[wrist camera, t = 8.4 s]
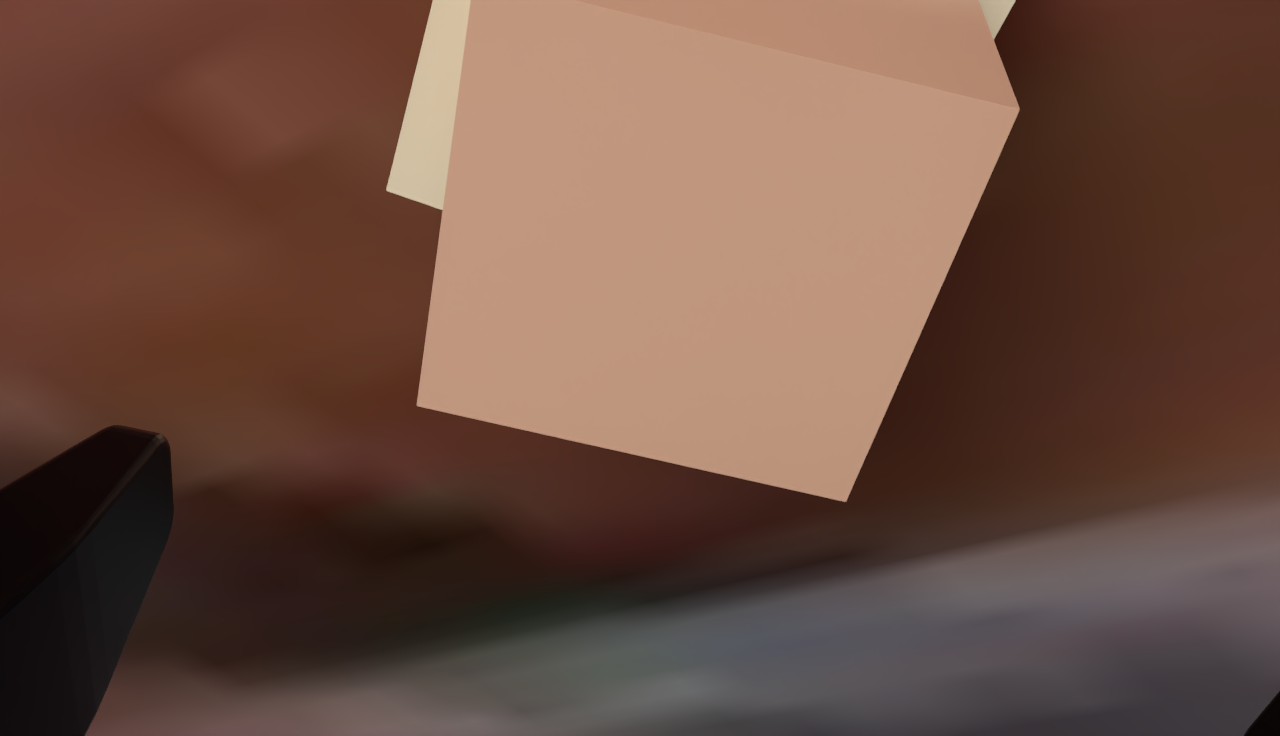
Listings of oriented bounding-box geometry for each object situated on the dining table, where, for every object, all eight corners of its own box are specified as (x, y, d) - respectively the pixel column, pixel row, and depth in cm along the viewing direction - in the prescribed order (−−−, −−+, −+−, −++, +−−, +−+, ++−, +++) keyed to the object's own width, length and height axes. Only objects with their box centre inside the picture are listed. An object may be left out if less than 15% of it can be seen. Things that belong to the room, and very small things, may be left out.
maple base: (1022, -168, 17) (1069, -97, 15) (819, 227, 21) (825, 342, 19) (557, -360, 16) (512, -323, 14) (439, 91, 21) (386, 190, 18)
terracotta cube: (954, -64, 15) (1019, 109, 11) (829, 270, 18) (845, 502, 14) (557, -164, 15) (474, -24, 11) (498, 192, 18) (416, 405, 14)
